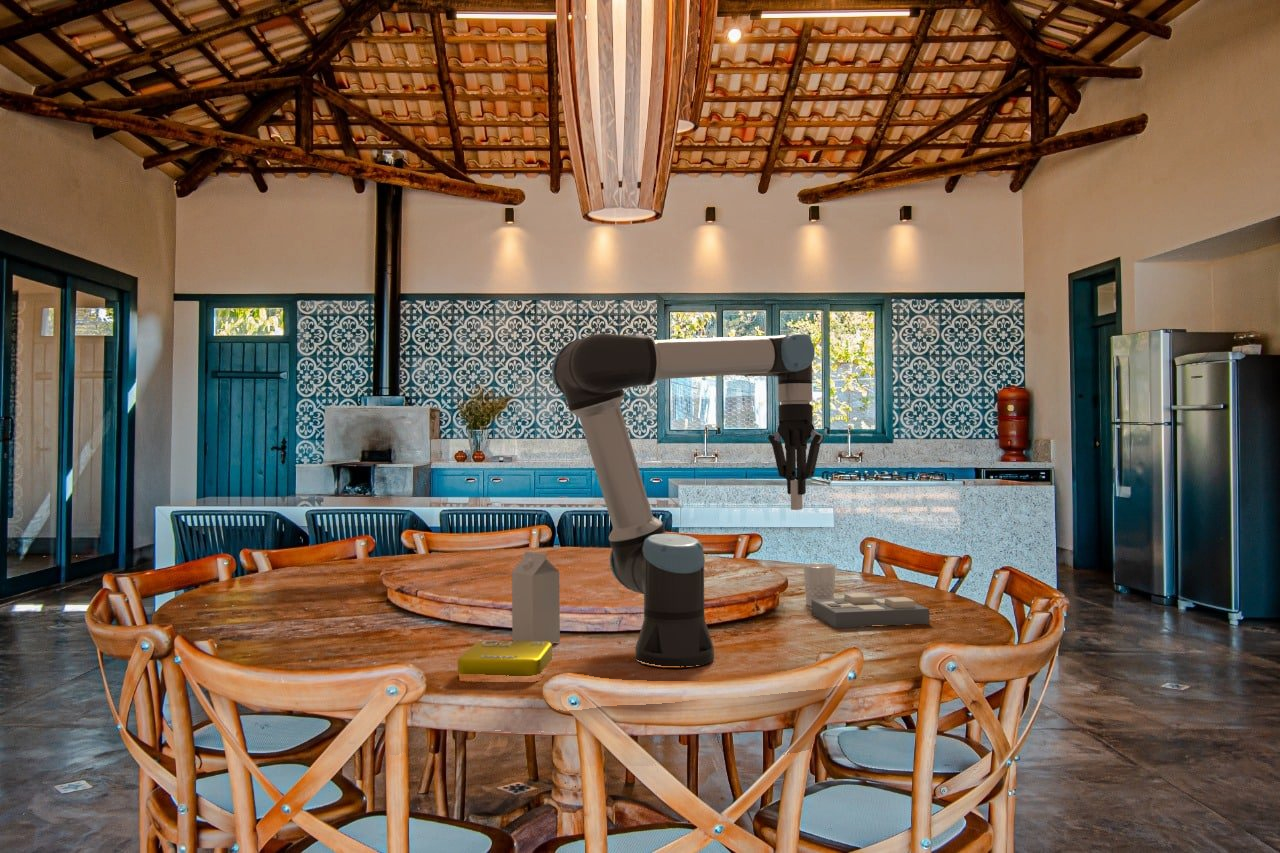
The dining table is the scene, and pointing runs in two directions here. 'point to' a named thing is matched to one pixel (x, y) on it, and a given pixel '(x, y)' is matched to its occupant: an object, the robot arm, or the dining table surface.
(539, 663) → the element tile
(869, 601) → the button
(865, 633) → the dining table surface
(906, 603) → the button
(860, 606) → the button
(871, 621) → the board
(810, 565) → the white cup
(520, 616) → the milk carton
